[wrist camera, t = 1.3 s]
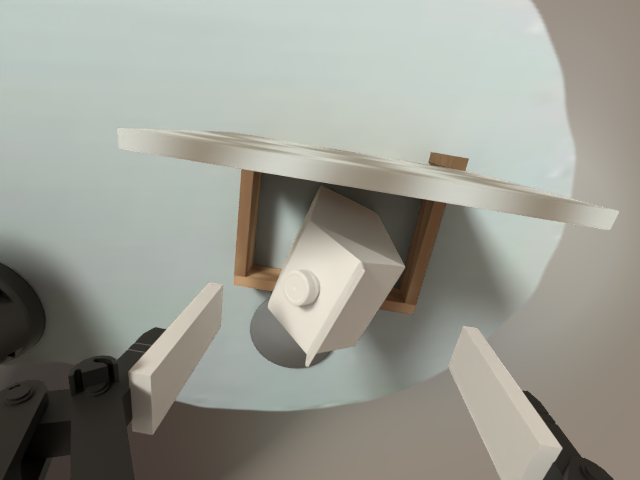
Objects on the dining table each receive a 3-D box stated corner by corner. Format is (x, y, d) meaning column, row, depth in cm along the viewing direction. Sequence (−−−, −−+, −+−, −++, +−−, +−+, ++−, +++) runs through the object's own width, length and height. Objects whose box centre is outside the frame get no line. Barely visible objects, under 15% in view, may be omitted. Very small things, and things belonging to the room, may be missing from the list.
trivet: (248, 357, 42) (247, 360, 41) (255, 286, 38) (253, 289, 37) (327, 370, 42) (327, 374, 41) (341, 301, 38) (341, 303, 37)
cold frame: (242, 271, 37) (135, 425, 18) (254, 122, 32) (115, 100, 12) (406, 298, 37) (484, 483, 18) (447, 154, 32) (631, 186, 12)
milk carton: (377, 212, 34) (422, 297, 16) (348, 264, 36) (358, 389, 18) (320, 184, 33) (301, 240, 15) (294, 238, 36) (250, 343, 18)
